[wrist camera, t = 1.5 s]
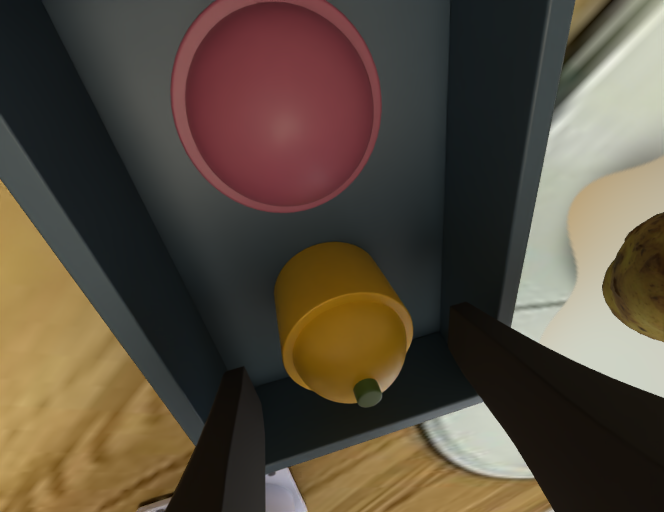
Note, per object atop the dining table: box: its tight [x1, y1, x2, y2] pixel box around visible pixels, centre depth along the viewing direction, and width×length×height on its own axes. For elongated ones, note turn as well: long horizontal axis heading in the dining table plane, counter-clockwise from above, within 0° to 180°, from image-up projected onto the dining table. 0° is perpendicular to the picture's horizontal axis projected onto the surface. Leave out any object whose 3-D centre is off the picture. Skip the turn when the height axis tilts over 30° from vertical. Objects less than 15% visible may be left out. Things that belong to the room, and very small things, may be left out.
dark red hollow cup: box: [170, 0, 382, 213], centre depth 8 cm, size 5×5×5 cm
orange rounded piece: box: [274, 242, 413, 407], centre depth 12 cm, size 5×5×6 cm
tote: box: [0, 0, 575, 475], centre depth 11 cm, size 12×17×5 cm
